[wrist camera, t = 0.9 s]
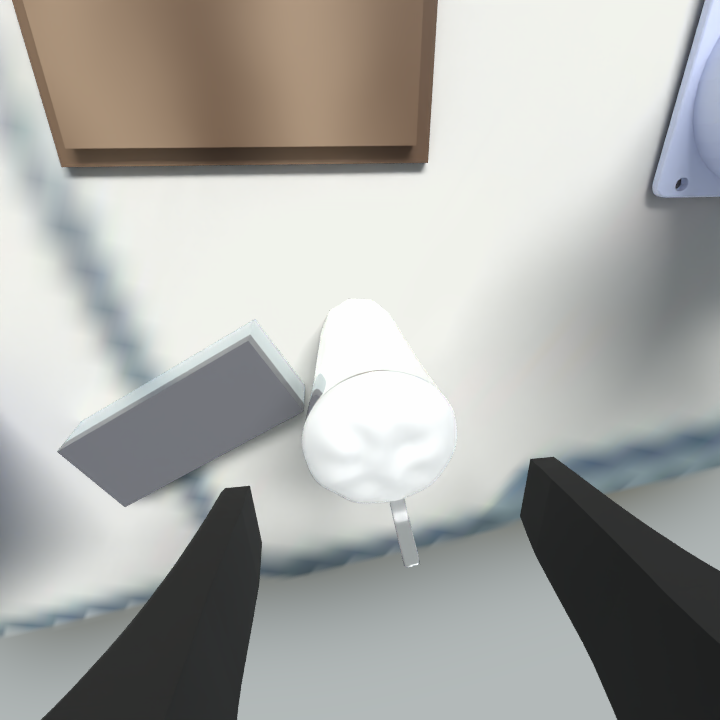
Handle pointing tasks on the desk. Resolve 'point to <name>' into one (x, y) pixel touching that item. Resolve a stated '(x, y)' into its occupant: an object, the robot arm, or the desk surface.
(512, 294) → the desk surface
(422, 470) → the milkshake
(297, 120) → the plinth
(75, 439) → the block
